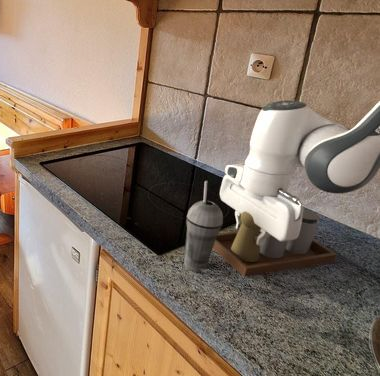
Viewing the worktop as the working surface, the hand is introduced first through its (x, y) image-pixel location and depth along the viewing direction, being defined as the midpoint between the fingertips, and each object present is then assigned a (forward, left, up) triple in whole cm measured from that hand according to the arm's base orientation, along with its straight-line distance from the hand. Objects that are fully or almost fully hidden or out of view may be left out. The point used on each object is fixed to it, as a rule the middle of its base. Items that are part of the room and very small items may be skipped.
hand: (249, 236), depth 90 cm
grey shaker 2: (-14, 0, -5) cm, 15 cm away
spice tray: (-6, 0, -6) cm, 9 cm away
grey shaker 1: (-7, 0, -5) cm, 8 cm away
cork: (0, 0, -5) cm, 5 cm away
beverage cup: (+13, 0, -6) cm, 14 cm away
